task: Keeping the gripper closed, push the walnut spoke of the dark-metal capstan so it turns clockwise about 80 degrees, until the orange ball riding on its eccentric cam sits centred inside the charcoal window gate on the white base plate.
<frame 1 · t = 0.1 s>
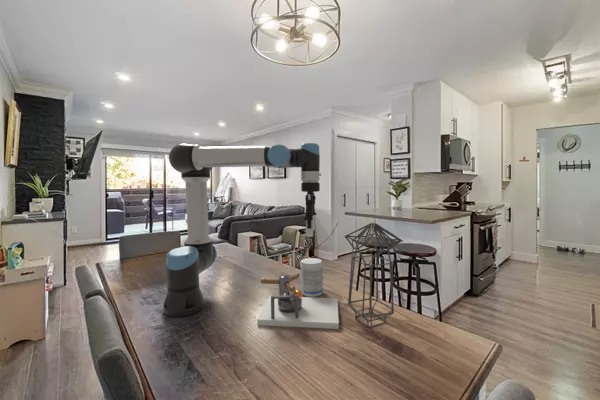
hand: (310, 233, 118), 28 cm above the table, fingers open, 13 cm apart
white base plate: (300, 313, 107), on the table
capstan: (281, 291, 107), point 8 cm above the table, hinge at 0.0°
supplement tub: (311, 293, 125), on the table
geometric lantern: (371, 319, 102), on the table
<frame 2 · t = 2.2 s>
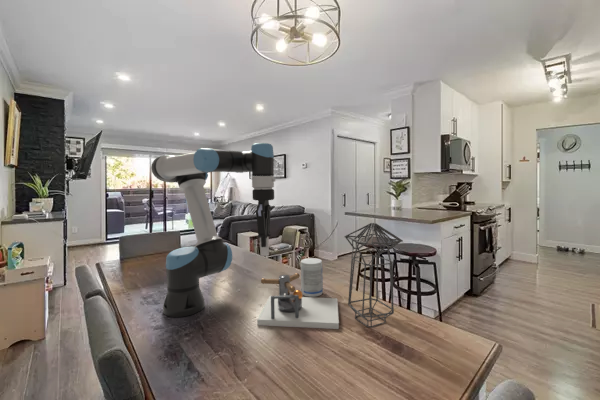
hand: (264, 255, 100), 24 cm above the table, fingers closed
nothing on the table moved.
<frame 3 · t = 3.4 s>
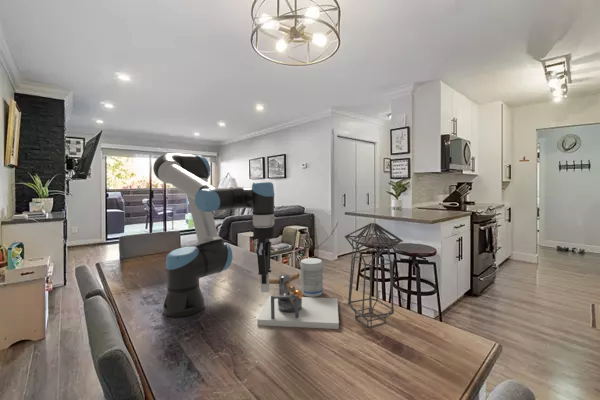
hand: (265, 291, 101), 11 cm above the table, fingers closed
nothing on the table moved.
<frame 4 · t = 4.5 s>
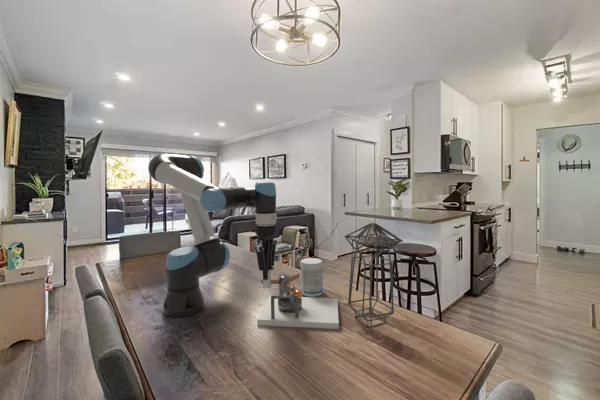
hand: (267, 287, 106), 10 cm above the table, fingers closed
capstan: (281, 291, 107), point 8 cm above the table, hinge at 0.0°, touching gripper
everything else where it was.
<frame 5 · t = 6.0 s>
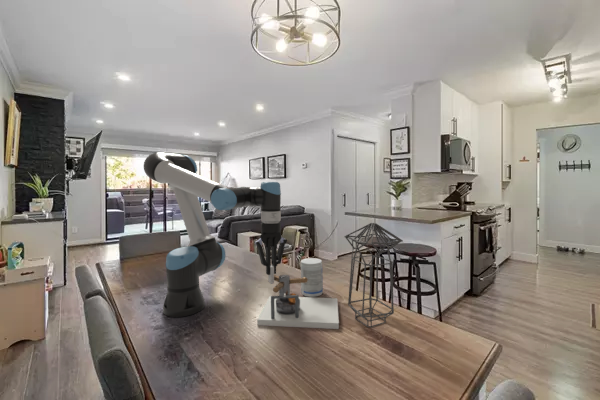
hand: (271, 282, 110), 10 cm above the table, fingers closed
capstan: (282, 290, 108), point 8 cm above the table, hinge at -42.3°, touching gripper
everything else where it was.
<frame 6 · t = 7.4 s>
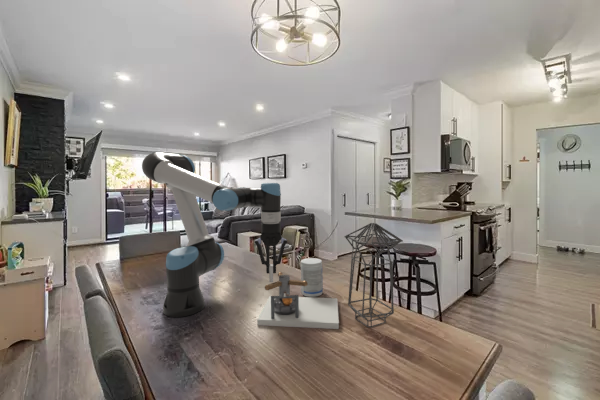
hand: (271, 281, 113), 10 cm above the table, fingers closed
capstan: (283, 290, 108), point 8 cm above the table, hinge at -69.2°
everything else where it was.
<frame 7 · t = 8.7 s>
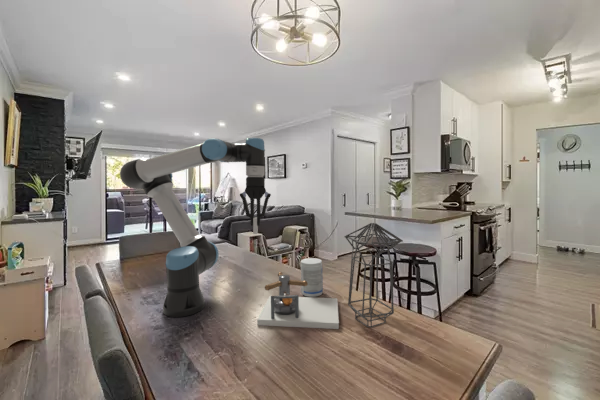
hand: (255, 233, 118), 28 cm above the table, fingers closed
nothing on the table moved.
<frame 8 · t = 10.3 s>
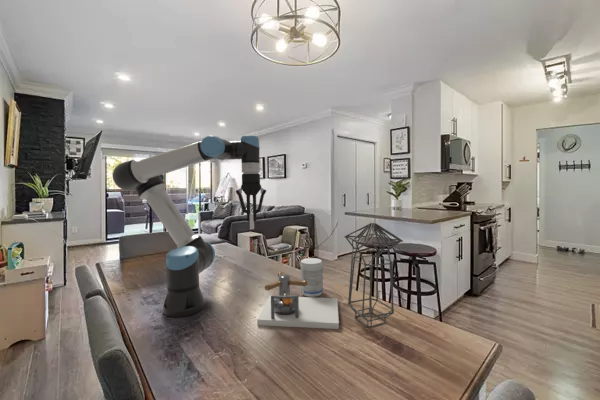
hand: (252, 228, 121), 29 cm above the table, fingers closed
nothing on the table moved.
at the end: capstan at -69° (first picture: +0°) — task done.
